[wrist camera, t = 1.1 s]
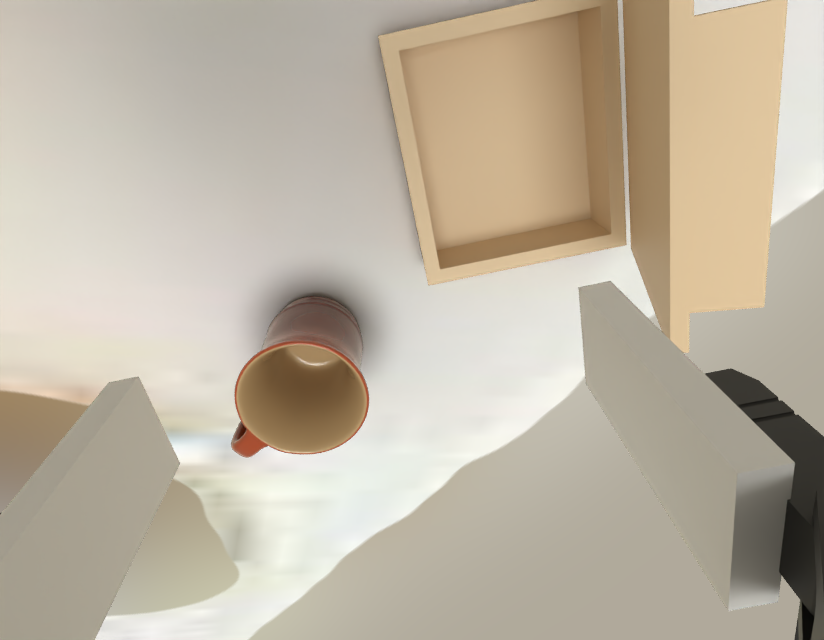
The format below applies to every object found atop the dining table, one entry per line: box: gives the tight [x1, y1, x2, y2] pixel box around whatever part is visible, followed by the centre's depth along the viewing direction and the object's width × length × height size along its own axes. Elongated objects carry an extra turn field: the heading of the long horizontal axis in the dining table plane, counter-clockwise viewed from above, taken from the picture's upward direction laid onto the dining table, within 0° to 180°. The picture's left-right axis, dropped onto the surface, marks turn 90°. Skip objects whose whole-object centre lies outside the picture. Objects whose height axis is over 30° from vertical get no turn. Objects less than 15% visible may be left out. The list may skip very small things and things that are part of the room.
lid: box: [623, 0, 788, 353], centre depth 29 cm, size 16×14×4 cm
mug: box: [231, 296, 369, 458], centre depth 42 cm, size 12×9×10 cm
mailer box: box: [378, 0, 626, 285], centre depth 38 cm, size 16×14×5 cm
